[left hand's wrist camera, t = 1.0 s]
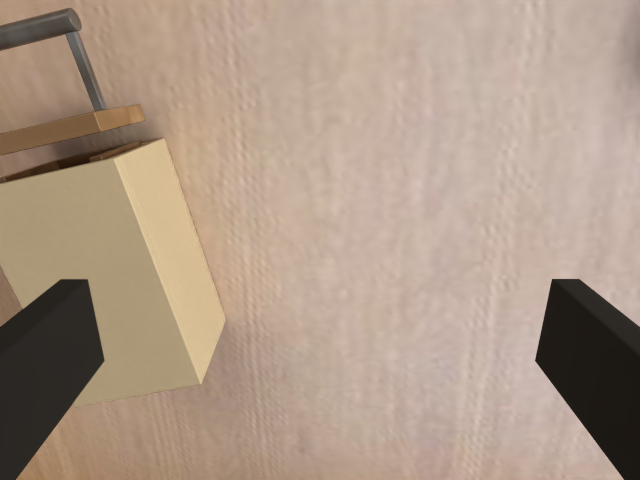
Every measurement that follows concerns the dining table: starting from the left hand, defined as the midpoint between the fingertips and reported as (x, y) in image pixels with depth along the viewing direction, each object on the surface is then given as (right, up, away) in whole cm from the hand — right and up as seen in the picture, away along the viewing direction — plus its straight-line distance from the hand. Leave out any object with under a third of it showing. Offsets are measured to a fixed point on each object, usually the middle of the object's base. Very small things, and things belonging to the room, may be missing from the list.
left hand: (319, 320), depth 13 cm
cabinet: (-15, +2, +25) cm, 30 cm away
